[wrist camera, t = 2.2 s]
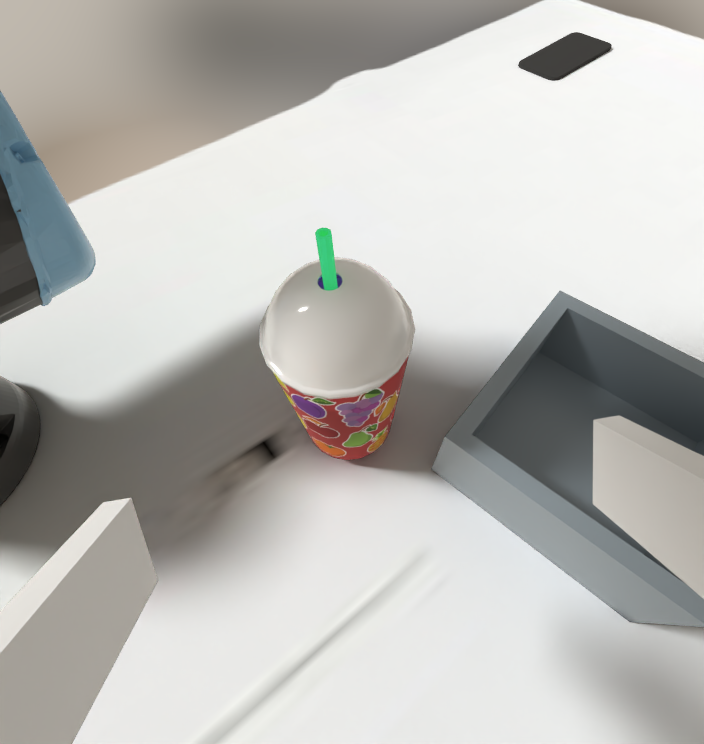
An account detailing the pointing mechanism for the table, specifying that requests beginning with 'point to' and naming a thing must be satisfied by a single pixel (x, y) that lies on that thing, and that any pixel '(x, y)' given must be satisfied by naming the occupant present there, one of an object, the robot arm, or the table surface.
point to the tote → (578, 449)
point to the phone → (564, 56)
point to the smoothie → (339, 350)
